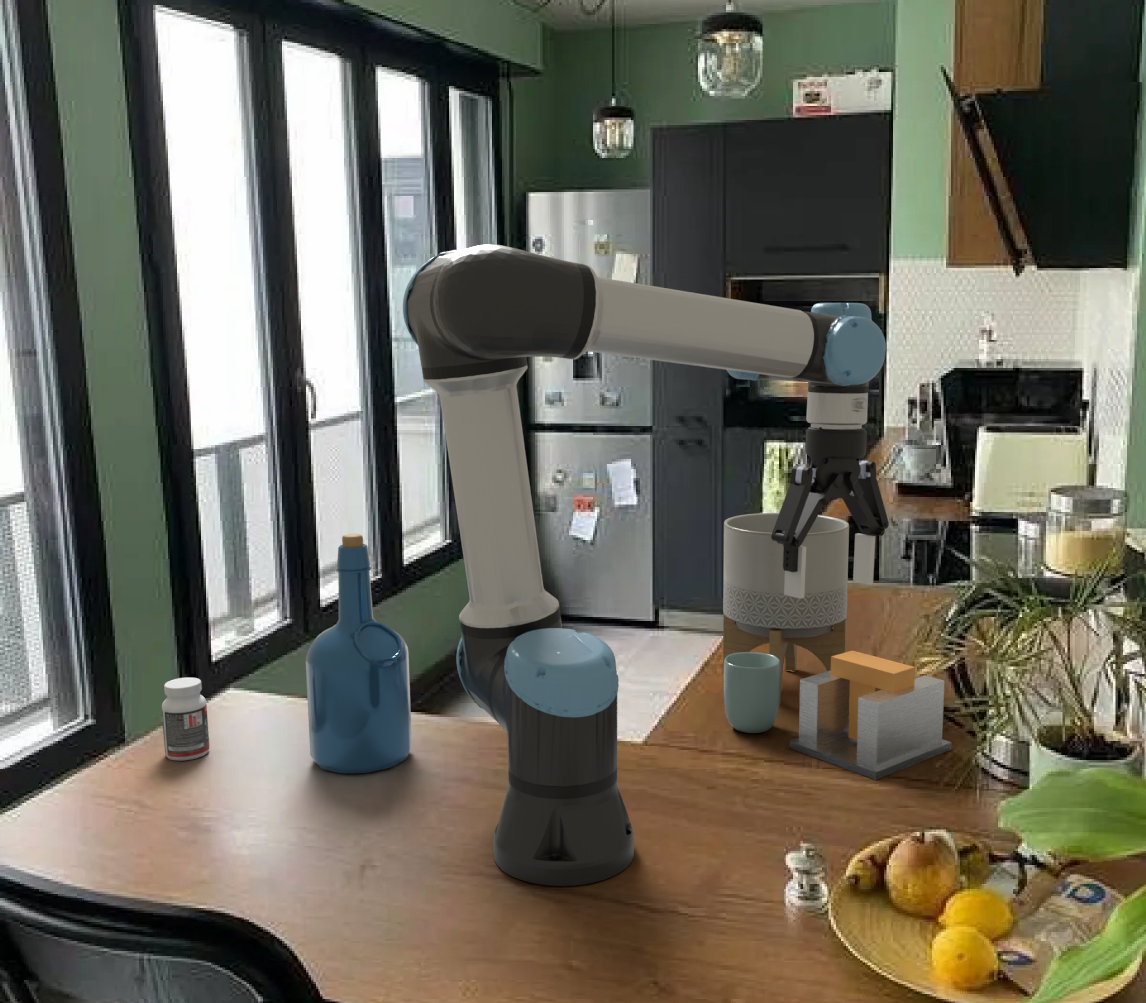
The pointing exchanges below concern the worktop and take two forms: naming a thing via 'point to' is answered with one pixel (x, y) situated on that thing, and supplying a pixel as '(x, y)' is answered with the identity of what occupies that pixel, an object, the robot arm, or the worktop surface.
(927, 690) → the bracket
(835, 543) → the planter
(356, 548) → the wine bottle
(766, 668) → the cup
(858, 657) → the orange t-shaped block
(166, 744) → the pill bottle
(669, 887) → the worktop surface
